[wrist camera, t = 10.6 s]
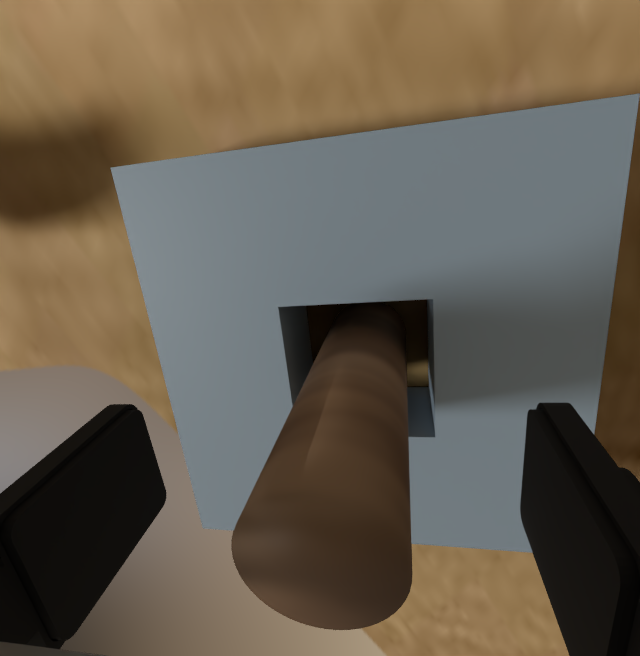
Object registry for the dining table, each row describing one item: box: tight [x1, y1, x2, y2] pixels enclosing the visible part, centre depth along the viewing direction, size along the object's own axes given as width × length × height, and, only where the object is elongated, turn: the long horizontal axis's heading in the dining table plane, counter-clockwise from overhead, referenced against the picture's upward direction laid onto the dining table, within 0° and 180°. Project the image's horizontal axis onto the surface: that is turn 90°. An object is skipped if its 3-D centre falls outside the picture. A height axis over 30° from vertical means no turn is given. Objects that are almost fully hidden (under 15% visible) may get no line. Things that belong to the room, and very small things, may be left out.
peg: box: [232, 302, 412, 630], centre depth 13 cm, size 3×3×12 cm
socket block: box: [111, 94, 640, 553], centre depth 17 cm, size 16×16×4 cm
